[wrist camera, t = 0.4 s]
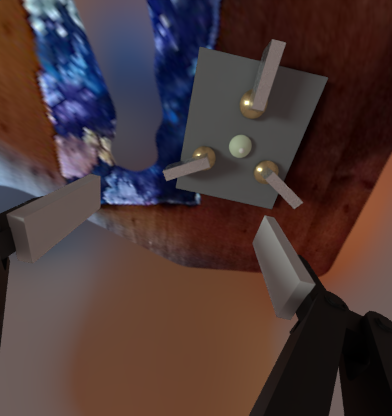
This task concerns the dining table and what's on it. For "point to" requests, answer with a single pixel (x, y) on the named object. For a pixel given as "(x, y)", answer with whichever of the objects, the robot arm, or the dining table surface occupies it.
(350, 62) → the dining table surface
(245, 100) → the knob
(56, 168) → the dining table surface
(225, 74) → the base plate
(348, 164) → the dining table surface
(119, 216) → the dining table surface
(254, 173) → the knob
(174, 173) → the knob
